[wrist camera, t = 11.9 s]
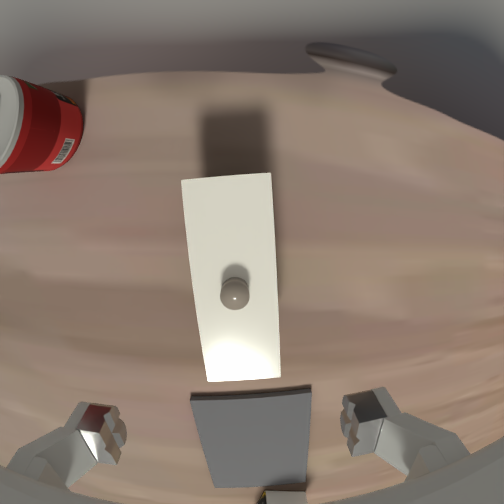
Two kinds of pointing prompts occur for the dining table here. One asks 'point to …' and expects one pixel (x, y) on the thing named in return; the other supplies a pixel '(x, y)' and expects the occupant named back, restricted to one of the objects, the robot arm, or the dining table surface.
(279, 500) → the medicine bottle
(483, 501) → the robot arm
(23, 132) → the canned food
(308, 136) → the dining table surface
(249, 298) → the lid
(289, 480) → the mat
